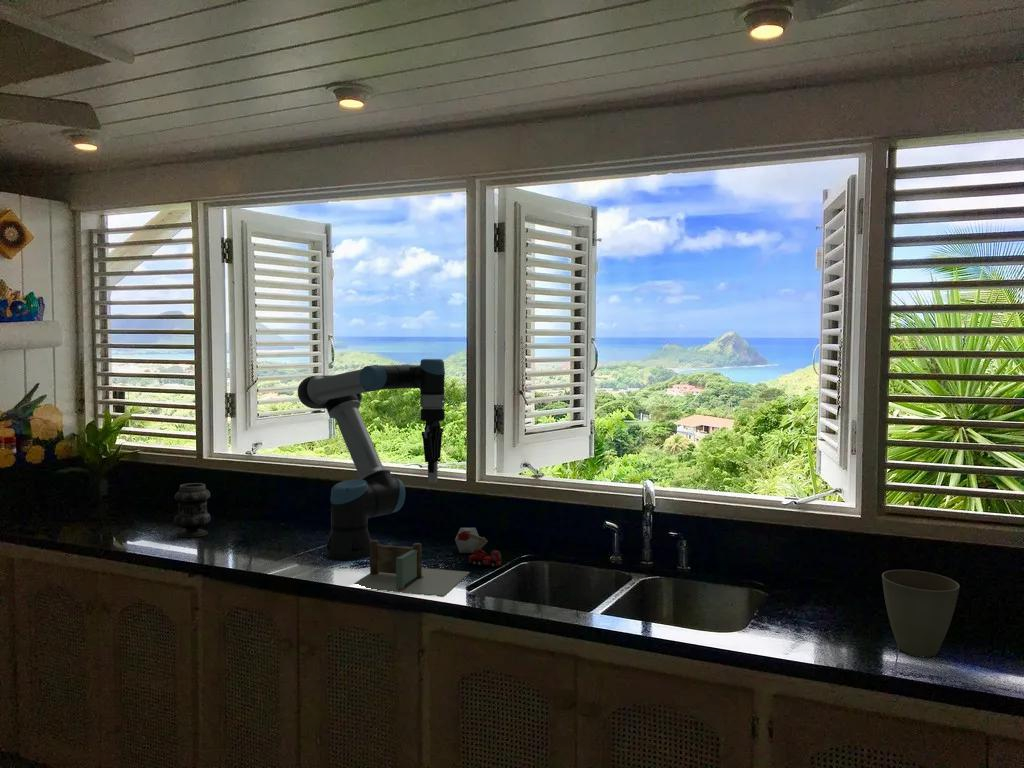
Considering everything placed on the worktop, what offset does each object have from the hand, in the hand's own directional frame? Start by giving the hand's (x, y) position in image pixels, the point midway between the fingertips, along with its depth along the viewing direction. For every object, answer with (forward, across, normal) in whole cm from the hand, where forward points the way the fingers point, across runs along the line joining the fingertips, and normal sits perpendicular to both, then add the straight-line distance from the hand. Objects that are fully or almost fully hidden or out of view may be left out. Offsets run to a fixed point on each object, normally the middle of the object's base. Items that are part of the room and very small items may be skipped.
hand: (432, 482), depth 231 cm
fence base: (+24, -20, +4) cm, 32 cm away
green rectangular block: (+24, -27, -3) cm, 36 cm away
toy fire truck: (+25, -1, -16) cm, 29 cm away
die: (+25, +11, -8) cm, 28 cm away
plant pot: (+25, -39, -129) cm, 137 cm away
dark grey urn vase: (+25, +6, +94) cm, 97 cm away
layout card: (+24, -22, -2) cm, 33 cm away
